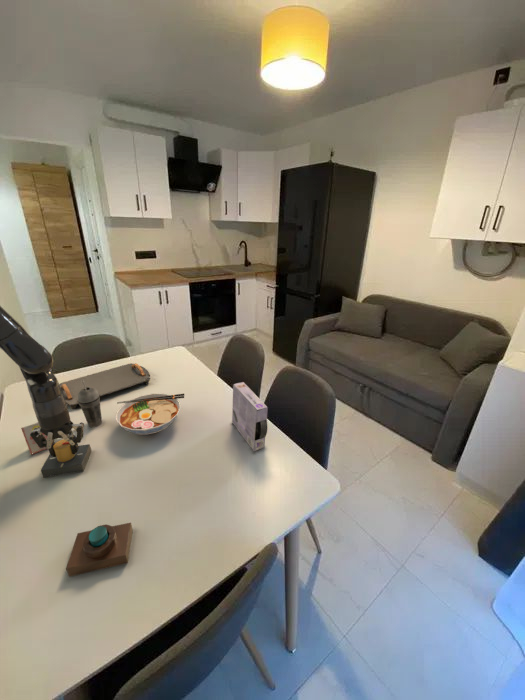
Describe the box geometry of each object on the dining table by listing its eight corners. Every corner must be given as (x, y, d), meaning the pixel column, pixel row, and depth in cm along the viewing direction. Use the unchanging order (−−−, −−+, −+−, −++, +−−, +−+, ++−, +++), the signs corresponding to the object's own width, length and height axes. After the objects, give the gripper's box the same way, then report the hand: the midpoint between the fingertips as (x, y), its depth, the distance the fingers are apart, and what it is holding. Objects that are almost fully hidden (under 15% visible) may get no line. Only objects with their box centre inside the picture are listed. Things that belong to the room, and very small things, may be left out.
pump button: (88, 549, 65) (86, 543, 64) (92, 533, 68) (91, 527, 67) (106, 545, 66) (104, 539, 65) (109, 530, 69) (108, 524, 68)
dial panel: (43, 477, 88) (40, 469, 86) (54, 456, 96) (52, 448, 94) (83, 471, 90) (81, 463, 89) (91, 450, 98) (89, 443, 97)
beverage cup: (108, 416, 115) (98, 372, 107) (102, 428, 109) (91, 382, 100) (88, 418, 114) (76, 373, 106) (81, 430, 107) (68, 384, 99)
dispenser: (69, 576, 64) (63, 562, 62) (80, 541, 71) (75, 527, 69) (127, 563, 67) (124, 549, 65) (132, 530, 74) (129, 516, 72)
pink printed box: (29, 448, 98) (20, 425, 94) (53, 439, 102) (45, 416, 98) (31, 454, 96) (21, 430, 92) (55, 445, 100) (47, 422, 96)
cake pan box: (267, 449, 101) (269, 407, 94) (255, 454, 99) (256, 411, 92) (242, 418, 116) (242, 380, 109) (231, 422, 114) (230, 383, 107)
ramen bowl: (108, 451, 98) (103, 431, 95) (123, 411, 119) (120, 394, 115) (184, 442, 103) (182, 423, 100) (186, 405, 124) (184, 389, 120)
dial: (54, 463, 89) (50, 449, 87) (60, 452, 93) (56, 439, 91) (72, 460, 90) (68, 447, 88) (77, 449, 94) (73, 436, 92)
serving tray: (138, 365, 155) (136, 355, 153) (157, 382, 140) (155, 371, 138) (52, 391, 131) (48, 379, 128) (64, 414, 116) (60, 401, 113)
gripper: (15, 420, 79) (34, 466, 86) (74, 413, 83) (87, 458, 90) (28, 404, 86) (44, 449, 93) (82, 399, 89) (94, 442, 96)
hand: (65, 453), depth 91 cm, fingers closed on dial, 5 cm apart
